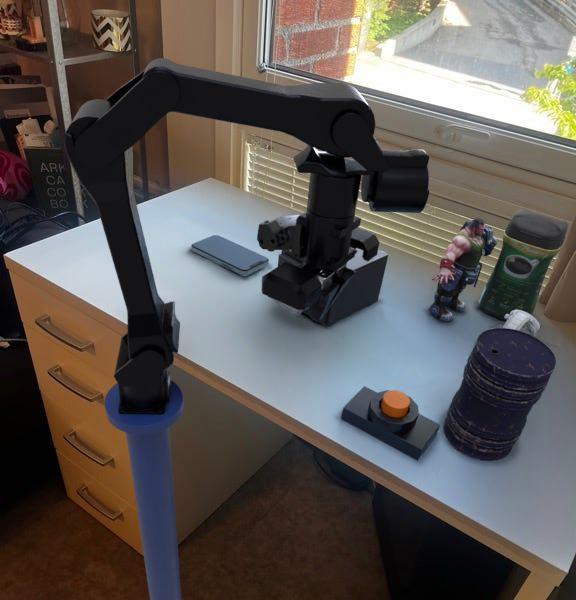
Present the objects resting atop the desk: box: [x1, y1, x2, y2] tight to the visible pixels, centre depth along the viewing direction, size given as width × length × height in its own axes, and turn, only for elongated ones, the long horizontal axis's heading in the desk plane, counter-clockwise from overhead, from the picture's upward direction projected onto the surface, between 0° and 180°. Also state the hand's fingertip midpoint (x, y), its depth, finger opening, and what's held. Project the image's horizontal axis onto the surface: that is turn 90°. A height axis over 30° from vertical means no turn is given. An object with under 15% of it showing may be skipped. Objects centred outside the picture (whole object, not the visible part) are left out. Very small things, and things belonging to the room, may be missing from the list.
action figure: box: [428, 217, 498, 323], centre depth 96 cm, size 20×7×18 cm, turn 139°
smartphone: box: [190, 234, 270, 276], centre depth 108 cm, size 8×2×15 cm
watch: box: [502, 310, 541, 336], centre depth 85 cm, size 6×8×11 cm
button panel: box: [340, 386, 441, 461], centre depth 76 cm, size 12×6×4 cm, turn 55°
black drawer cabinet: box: [280, 248, 389, 328], centre depth 98 cm, size 14×13×10 cm
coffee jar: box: [478, 208, 569, 322], centre depth 97 cm, size 10×8×19 cm
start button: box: [381, 389, 410, 418], centre depth 74 cm, size 4×4×2 cm
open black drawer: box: [268, 253, 327, 324], centre depth 96 cm, size 17×11×8 cm
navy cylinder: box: [442, 327, 557, 462], centre depth 73 cm, size 10×10×15 cm
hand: (316, 319), depth 75 cm, fingers closed
